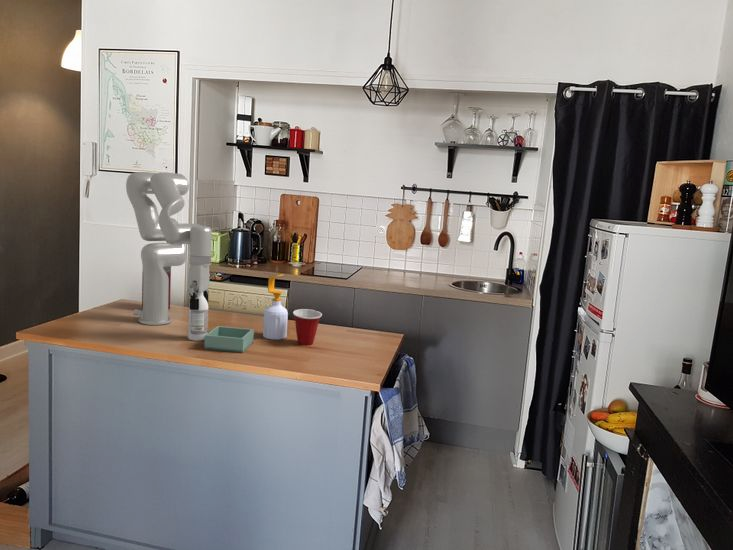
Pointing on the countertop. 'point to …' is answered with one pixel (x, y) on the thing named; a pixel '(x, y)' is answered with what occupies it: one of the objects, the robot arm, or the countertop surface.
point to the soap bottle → (275, 315)
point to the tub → (229, 339)
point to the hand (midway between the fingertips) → (199, 306)
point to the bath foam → (198, 320)
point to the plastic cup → (306, 325)
